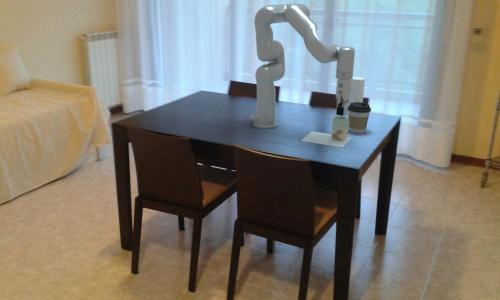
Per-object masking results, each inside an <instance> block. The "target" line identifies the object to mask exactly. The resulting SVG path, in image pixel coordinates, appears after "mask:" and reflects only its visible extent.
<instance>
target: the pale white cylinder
mask: <svg viewBox="0 0 500 300" xmlns="http://www.w3.org/2000/svg"><path fill="white" fill-rule="evenodd" d="M348 102H349V100H347V101H344V106H343V107H344V114H343V116H345V117H346V116H347V114H348ZM336 112H337V107H336ZM336 112H335V113H336Z"/></svg>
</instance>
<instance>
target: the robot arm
mask: <svg viewBox="0 0 500 300" xmlns="http://www.w3.org/2000/svg"><path fill="white" fill-rule="evenodd" d="M310 11H311V10H310V9H309V7H308V6H307V5H306V4H303V3H292V4H291V3H290V4H284V3H283V4H272V5H271V4H270V5H266V6H262V7H261V8H260V9H258V10H257V11H256V13H255V16H254V21H253V22H254V30H255V44H256V56H257V58H258V60H259V61H260V62H267V63H266V64H262V65H260V66H258V67H257V69H256V70H255V75H254V76H255V82H256V115H252V114H250V115H249V119H250V121H253V123H252V125H253V127H255V128H257V129H265V130H267V129H274V128H276V127H278V126H279V125H278V124H279V123H278V121H276V94H277V93H276V91H277V90H276V87H275V86H276V85H275V82H277V81H280V80H282V79H283V78H284V76H285V73H286V63H285V61H286V58H285V49H284V47H283V44H282V43H281V42H280V41H279V40H274V31H273V28H272V26H271V25H273V24H278V23H279V24H282V23H288V24H289V25H290V26H291V28H293V29H294V30H295V31H296V32H297V34H298V35H299V36H301V38H302V39H303V43H304V45H305V48H306V50H307V51H308V52H309V53H310V54H311V56H312V57H313V58H314V59H315V60H316V61H317V62H319V63H321V64H328V63H329V64H330V63H331V62H332V63H333V62H336V71H335V78H336V79H337V81H336V88H335V100H336V108H337V112H335V116H336V115H337V116H343V114H344V107H343V106H344V101H349V98H350V97H351V79H353V77H354V66H355V53H356V50H355V48H354V47H353V46H341V45H338V44H329V45H325V44H324V43H323V42H322V41H321V40H320V38H319V37H318V36H317V29H318V25H317V24H316V22H315V21H314V20H313V19H311V17H310V15H311V12H310Z"/></svg>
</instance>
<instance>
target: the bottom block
mask: <svg viewBox="0 0 500 300" xmlns="http://www.w3.org/2000/svg"><path fill="white" fill-rule="evenodd" d="M348 130H349V127H348V128H347V129H346V130H345V131H343V130H336V129H332V128H331V134H332V137H331V139H334V140H341V141H344V140H345V139H346V138H347V137H348V132H349V131H348Z"/></svg>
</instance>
